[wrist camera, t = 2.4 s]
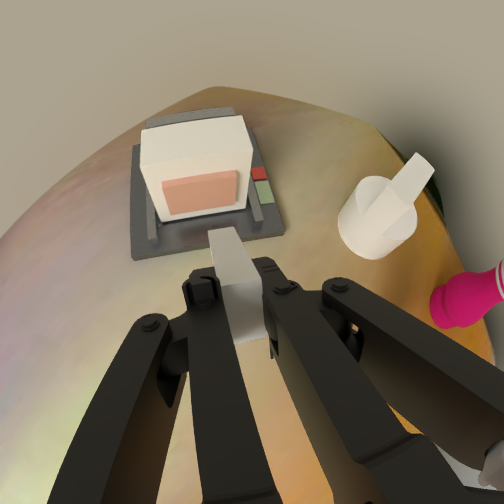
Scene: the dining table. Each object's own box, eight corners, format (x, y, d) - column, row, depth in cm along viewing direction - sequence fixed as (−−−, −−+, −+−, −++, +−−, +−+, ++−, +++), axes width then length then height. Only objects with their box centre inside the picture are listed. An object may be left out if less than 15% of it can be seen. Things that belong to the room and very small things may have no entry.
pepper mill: (431, 276, 33) (534, 208, 14) (461, 295, 32) (559, 242, 14) (422, 322, 30) (544, 271, 11) (453, 338, 29) (565, 301, 11)
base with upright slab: (359, 190, 37) (397, 134, 26) (403, 233, 35) (453, 187, 24) (324, 224, 34) (362, 164, 23) (373, 273, 32) (430, 231, 21)
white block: (161, 228, 30) (139, 173, 21) (159, 188, 32) (141, 130, 23) (246, 214, 32) (255, 155, 22) (237, 175, 34) (241, 115, 24)
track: (134, 260, 30) (117, 240, 25) (134, 150, 36) (125, 123, 31) (282, 235, 33) (293, 210, 28) (250, 133, 39) (253, 105, 34)
